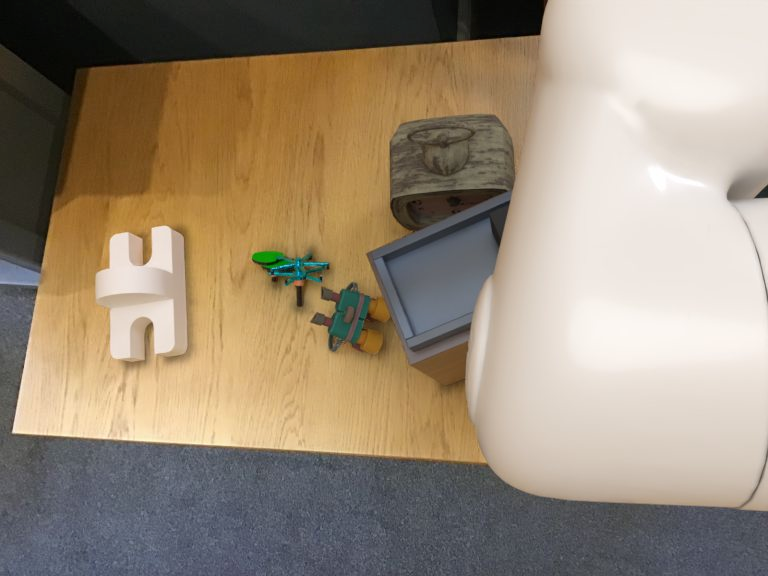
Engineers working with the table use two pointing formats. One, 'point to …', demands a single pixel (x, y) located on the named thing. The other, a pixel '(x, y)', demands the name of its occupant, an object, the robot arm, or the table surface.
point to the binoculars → (353, 319)
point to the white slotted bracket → (145, 294)
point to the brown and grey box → (438, 286)
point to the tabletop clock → (448, 167)
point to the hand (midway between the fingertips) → (585, 281)
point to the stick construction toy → (279, 263)
